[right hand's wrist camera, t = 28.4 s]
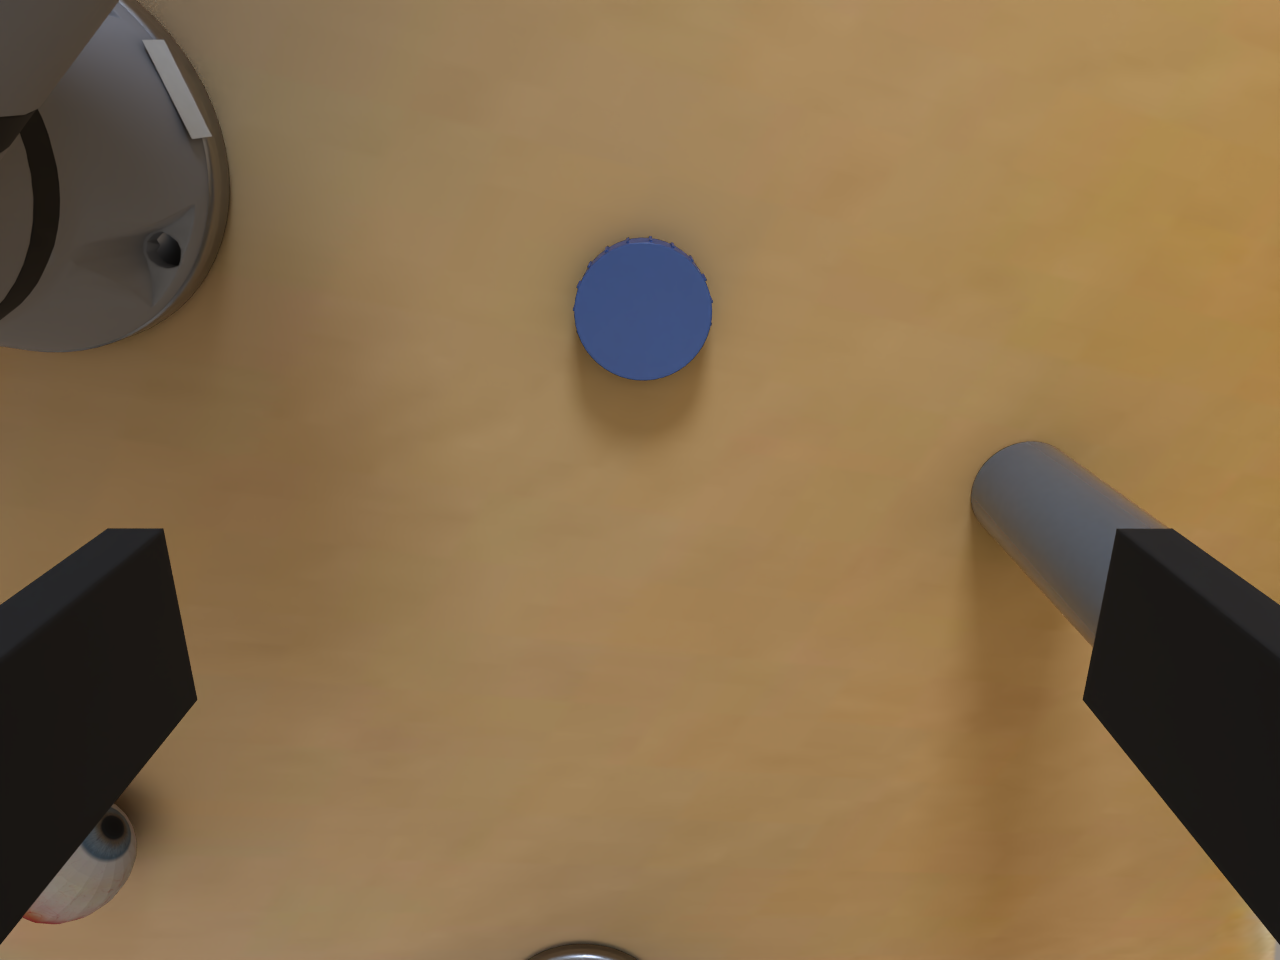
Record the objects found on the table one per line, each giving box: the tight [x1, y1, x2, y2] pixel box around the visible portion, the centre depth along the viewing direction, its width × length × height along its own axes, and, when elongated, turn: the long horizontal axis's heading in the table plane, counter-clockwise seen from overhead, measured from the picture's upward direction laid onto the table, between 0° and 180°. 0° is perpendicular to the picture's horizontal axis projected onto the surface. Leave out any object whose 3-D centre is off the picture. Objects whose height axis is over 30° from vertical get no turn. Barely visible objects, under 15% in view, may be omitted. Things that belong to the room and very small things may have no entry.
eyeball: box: [23, 804, 137, 924], centre depth 45 cm, size 6×6×6 cm
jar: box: [971, 442, 1170, 647], centre depth 34 cm, size 5×5×17 cm
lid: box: [573, 236, 713, 380], centre depth 38 cm, size 6×6×2 cm
